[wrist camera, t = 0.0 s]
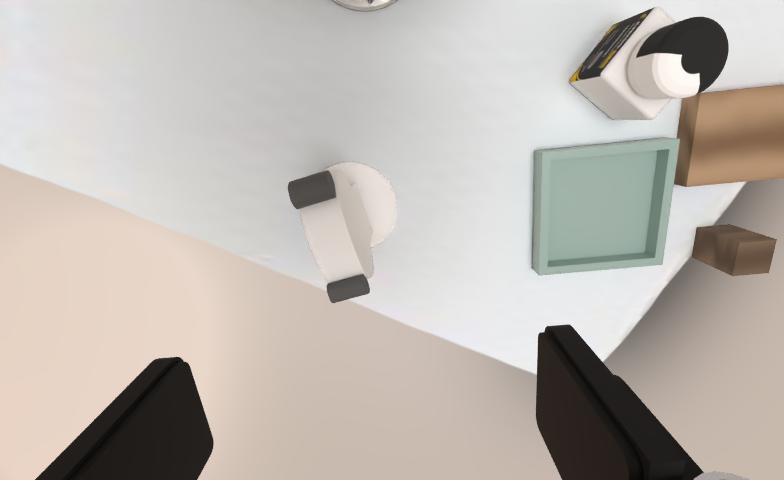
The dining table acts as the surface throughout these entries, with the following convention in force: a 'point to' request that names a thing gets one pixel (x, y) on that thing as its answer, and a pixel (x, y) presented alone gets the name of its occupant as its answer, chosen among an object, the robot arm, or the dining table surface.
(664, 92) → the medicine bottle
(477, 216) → the dining table surface
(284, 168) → the dining table surface
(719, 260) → the dark brown wooden block
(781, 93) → the tan wooden block
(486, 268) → the dining table surface
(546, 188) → the tray
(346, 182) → the panda figurine
